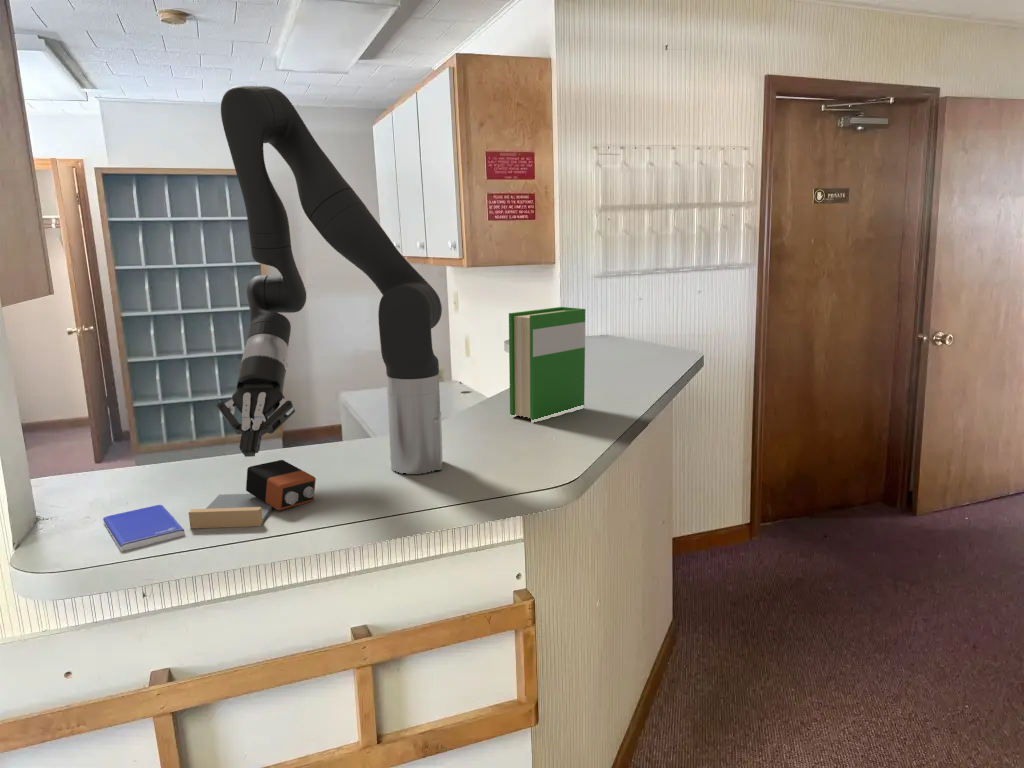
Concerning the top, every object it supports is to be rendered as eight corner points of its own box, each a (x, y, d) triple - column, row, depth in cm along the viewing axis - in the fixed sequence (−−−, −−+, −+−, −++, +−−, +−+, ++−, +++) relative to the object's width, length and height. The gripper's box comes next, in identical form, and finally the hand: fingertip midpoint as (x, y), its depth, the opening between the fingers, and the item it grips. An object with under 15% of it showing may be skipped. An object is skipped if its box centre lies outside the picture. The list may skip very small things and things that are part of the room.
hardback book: (533, 423, 156) (532, 315, 151) (509, 417, 161) (508, 313, 156) (584, 409, 168) (585, 308, 163) (561, 404, 173) (561, 306, 168)
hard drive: (184, 528, 100) (162, 503, 109) (120, 543, 95) (102, 516, 104) (185, 538, 100) (163, 513, 110) (121, 554, 95) (104, 526, 105)
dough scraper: (281, 495, 115) (280, 481, 114) (260, 526, 103) (258, 510, 102) (219, 497, 114) (217, 482, 114) (190, 528, 102) (188, 512, 102)
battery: (246, 466, 112) (284, 487, 106) (282, 458, 117) (320, 478, 111) (244, 491, 113) (281, 514, 107) (280, 482, 118) (318, 503, 112)
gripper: (218, 354, 120) (198, 444, 110) (297, 353, 120) (284, 442, 111) (232, 378, 126) (214, 465, 117) (306, 377, 127) (295, 463, 117)
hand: (248, 454), depth 114 cm, fingers closed
